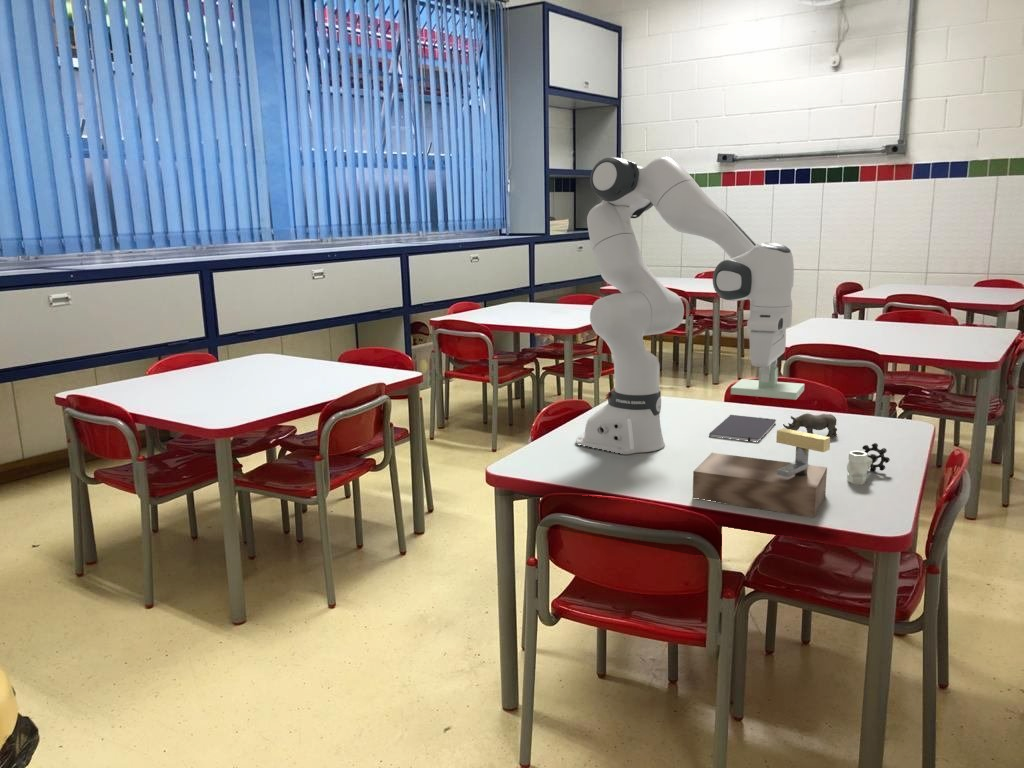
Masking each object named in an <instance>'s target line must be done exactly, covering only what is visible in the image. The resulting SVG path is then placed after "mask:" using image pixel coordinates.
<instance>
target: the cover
mask: <svg viewBox="0 0 1024 768" xmlns="http://www.w3.org/2000/svg"><path fill="white" fill-rule="evenodd" d="M770 374H771V376H770V381H769V382H762V381H761V372H760V368H758V379H749V378H747V379H746V378H741V379H740V380H739V381H736V383H734V385H732V386H731V387H730V395H738V396H749V397H760V398H761V397H762V398H773V399H781V400H782V399H784V400H793V401H796V400H797V399H798V398H799V397H800V396H801V394H802V393H804V391H805V383H797V382H784V381H778V377H779V376H778V375H779V367H777V366H776V367H770Z"/></svg>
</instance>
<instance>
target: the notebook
mask: <svg viewBox="0 0 1024 768" xmlns="http://www.w3.org/2000/svg"><path fill="white" fill-rule="evenodd" d="M776 421H777V419H775V418H765V417H756V416H748V415H747V416H745V415H737V414H730V415H728V417H726V418H725V419H724V420H723V421H722V422H721V423H720V424H719V425H717V426H716V427H715V428H713V430H711V432H709V433H708V435H709V436H708V437H709V438H714V437H721V438H720V439H723V438H731V439H739V440H748V441H756V442H755V443H758V442H757V441H759V440H760V441H761V440H762V439H763V438H764V437H765V436H766V435H767V434H768V433H769V431H770V430H772V428H773V427H774V426H775V425H776ZM774 424H775V425H774ZM773 425H774V426H773ZM767 432H768V433H767ZM766 433H767V434H766ZM765 434H766V435H765ZM764 435H765V436H764ZM710 436H711V437H710ZM763 436H764V437H763ZM722 437H723V438H722ZM762 437H763V438H762ZM761 438H762V439H761ZM731 439H730V440H731ZM739 440H738V441H739ZM748 441H747V442H748ZM760 441H759V442H760Z"/></svg>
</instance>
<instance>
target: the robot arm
mask: <svg viewBox="0 0 1024 768" xmlns="http://www.w3.org/2000/svg"><path fill="white" fill-rule="evenodd" d="M589 184H590V189H591V190H592V191H593V193H594V194H595V195H596V196H597V198H599V199H601V200H602V201H600V203H599V204H598V203H597V204H596V205H594V206H593V207H592V208H591V209H590V210H589V212H588V214H587V216H586V221H587V222H586V223H587V230H588V237H589V241H590V244H591V248H592V252H593V255H594V257H595V260H596V263H597V267H598V270H599V273H600V276H601V278H602V279H603V280H604V282H606V283H607V284H608V285H610V286H613V287H614V288H616V289H617V290H618V291H619V293H611V294H609V295H606V296H603V297H601V298H598V299H596V300H595V301H594V302H593V303H592V304H593V305H592V306H591V309H590V312H589V321H590V326H591V327H592V328H591V329H593V331H594V333H595V334H596V335H597V336H599V337H600V338H602V340H603V341H604V342H605V343H606V344H607V346H608V348H609V350H610V353H611V356H612V359H613V360H612V361H613V369H614V371H613V372H614V373H613V374H614V387H613V388H612V389H611V390H610V391H608V392H607V393H606V394H605V397H604V398H605V400H607V404H605V405H604V406H602V407H601V408H600V409H598V410H597V411H596V412H594V413H593V414H592V415H591V416H590V417H589V418H587V420H586V424H585V428H584V432H582V433H580V434H579V435H578V436H577V437H576V439H575V444H576V443H577V444H581V445H585V446H589V447H594V448H598V449H597V450H599V449H602V450H601V451H604V450H607V451H606V452H609V451H611V452H610V453H614V452H615V453H614V454H618V453H620V455H631V454H636V453H637V454H638V453H648V452H649V453H650V452H655V451H658V450H662V449H663V448H664V447H665V445H666V443H665V441H664V437H663V432H662V428H661V427H662V426H661V416H660V415H661V409H662V395H661V394H662V393H661V390H660V362H659V361H660V360H659V358H658V357H656V355H655V354H653V353H652V352H650V351H648V350H647V349H646V347H645V344H644V336H651V335H660V334H665V333H667V332H670V331H672V330H674V329H676V328H678V327H679V326H680V325H681V324H682V322H683V319H684V315H685V307H684V303H683V300H682V298H681V297H680V296H679V294H677V293H676V292H674V291H672V290H670V289H669V288H667V287H666V286H665V285H663V284H662V283H661V281H659V279H658V278H657V277H656V276H655V275H654V274H653V273H652V272H651V270H650V269H649V267H648V265H647V264H646V261H645V259H644V257H643V254H642V252H641V250H640V247H639V244H638V241H637V238H636V235H635V233H634V230H633V227H632V224H631V219H638V218H640V217H641V216H642V214H643V213H645V212H647V211H649V210H650V209H651V208H653V207H654V208H655V210H656V211H657V212H658V213H659V215H660V217H661V218H662V220H663V221H664V222H665V223H666V224H667V225H668V226H670V227H671V228H672V229H673V230H675V231H677V232H680V233H683V234H687V235H692V236H693V235H694V236H697V237H702V238H704V239H708V240H709V241H711V242H714V243H715V244H717V245H718V246H719V247H720V248H721V249H722V250H723V251H724V252H725V253H726V254H727V255H728V256H729V258H728V259H725V260H722V261H720V262H719V263H718V264H717V265H716V266H715V268H714V271H713V273H712V284H713V289H714V292H716V294H717V295H718V297H719V298H721V299H723V300H725V301H730V302H731V301H732V302H736V301H747V300H749V302H750V303H749V304H750V305H749V315H748V316H749V317H748V320H747V324H746V328H747V329H746V330H747V331H749V337H748V338H749V359H750V365H751V366H752V367H759V369H760V372H761V381H762V382H769V381H770V376H771V374H770V367H777V363H778V358H780V357H781V356H782V355H783V354H784V353H785V352H786V346H787V343H786V340H787V337H786V336H787V334H786V333H787V332H786V331H787V328H790V327H792V318H793V316H792V315H793V301H792V295H791V294H792V290H793V286H794V276H795V274H794V273H795V270H794V266H795V265H794V256H793V253H792V251H791V249H790V248H789V247H787V246H786V245H784V244H780V243H774V242H773V243H772V242H761V243H760V242H759V243H757V244H756V243H755V241H754V240H753V239H752V238H750V236H749V235H748V234H747V233H746V232H745V231H744V230H743V229H742V228H741V227H740V226H739V224H738V223H736V221H734V220H733V218H731V216H729V214H727V212H725V211H724V210H723V209H722V208H720V207H719V205H717V203H715V202H714V201H713V200H712V199H711V198H710V197H709V196H708V194H707V193H705V191H704V190H703V189H702V188H701V186H699V184H698V183H697V182H696V180H695V179H694V178H693V177H692V175H690V173H689V172H688V171H687V170H686V169H685V168H684V167H683V166H681V164H679V163H678V162H677V161H675V160H674V159H673V158H671V157H669V156H659V157H656V158H654V159H653V160H651V161H650V162H649V163H648V164H646V165H645V166H641V165H638V163H636V162H634V161H631V160H628V159H625V158H622V157H613V156H610V157H605V158H602V159H601V160H599V161H598V162H597V163H596V164H595V165H594V166H593V168H592V171H591V173H590V178H589ZM577 444H576V445H577ZM585 446H584V447H585ZM589 447H588V448H589ZM594 448H593V449H594Z"/></svg>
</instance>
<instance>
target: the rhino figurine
mask: <svg viewBox="0 0 1024 768" xmlns="http://www.w3.org/2000/svg"><path fill="white" fill-rule="evenodd" d="M790 419H791V420H792V422H791V423H789V422H788V423H787V425H786V424H785V423H783V424H782V425H783V428H785V429H790V430H795V431H798V430H799V429H800V428H805V429H806V433H811V434H814V432H813V430H815V431H822V430H823V431H824V430H825V429H827V431H828V432H827V434H826V435H825V436H826V437H830V439H832V438H833V437H834V436H833V435H837V436H838V433H837V431H838V429H837V427H836V426H837V421H838V420H837V418H836V416H835V415H833V414H830V413H829V414H827V413H826V414H825V413H822V414H818V415H814V414H812V413H803V414H801V415H799V416H797V417H794V416H792V415H791V416H790ZM831 437H832V438H831Z"/></svg>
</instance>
